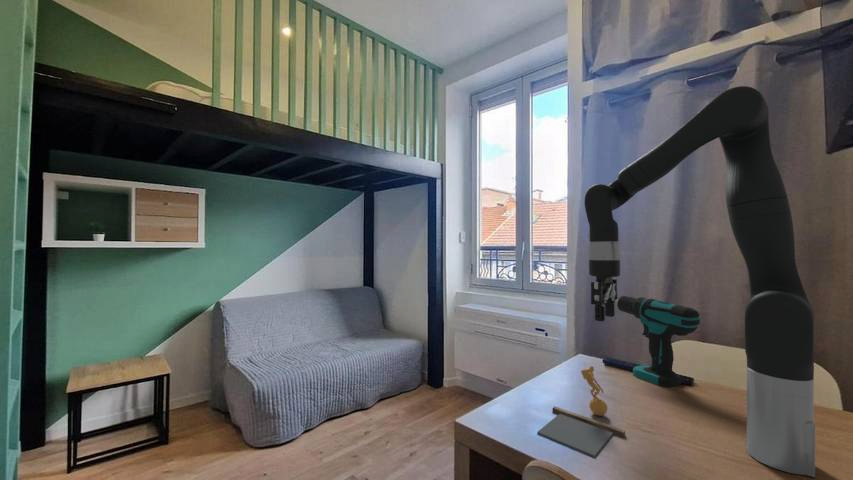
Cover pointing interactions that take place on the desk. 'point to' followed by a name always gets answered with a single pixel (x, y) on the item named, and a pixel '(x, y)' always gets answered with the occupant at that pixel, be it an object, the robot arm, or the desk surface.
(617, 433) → the bar
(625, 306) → the power drill
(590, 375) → the figurine
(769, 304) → the robot arm
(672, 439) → the desk surface
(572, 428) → the mat
